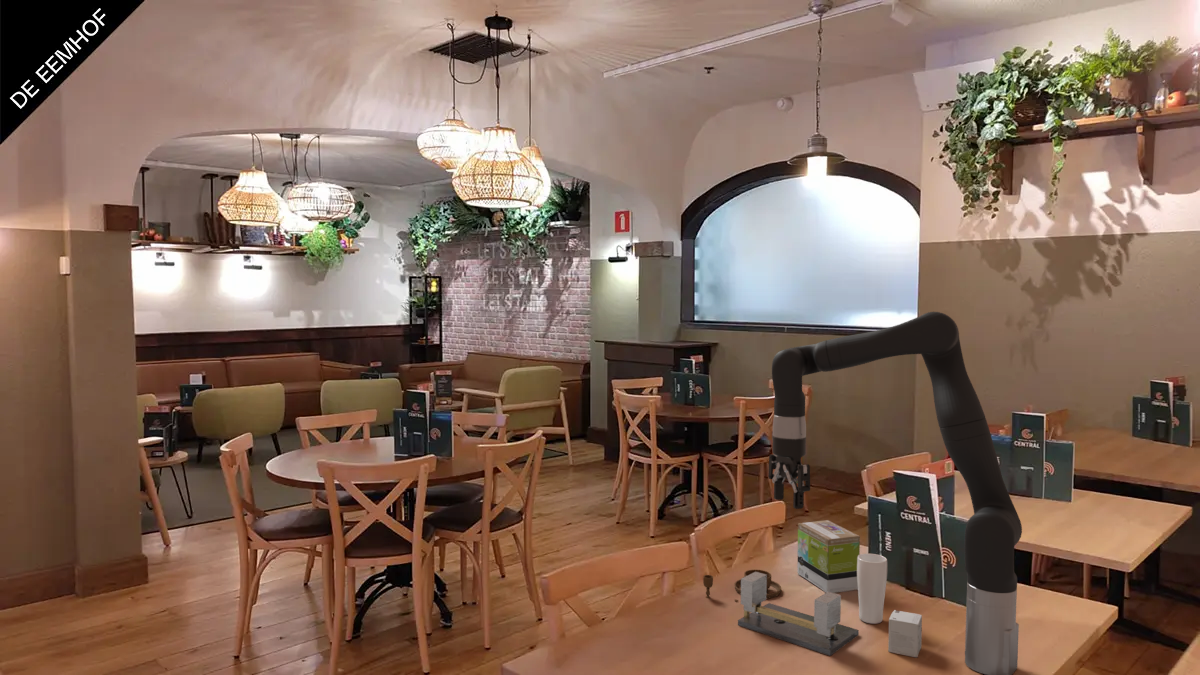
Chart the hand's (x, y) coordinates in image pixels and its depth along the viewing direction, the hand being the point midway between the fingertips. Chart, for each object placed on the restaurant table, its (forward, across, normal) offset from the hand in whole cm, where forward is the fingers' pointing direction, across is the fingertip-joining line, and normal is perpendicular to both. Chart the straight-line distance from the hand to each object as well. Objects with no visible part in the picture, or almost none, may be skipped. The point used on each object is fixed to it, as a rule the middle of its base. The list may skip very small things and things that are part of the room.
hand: (788, 503), depth 184 cm
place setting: (+29, +22, 0) cm, 37 cm away
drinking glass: (+29, -4, -20) cm, 35 cm away
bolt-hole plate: (+28, -4, 0) cm, 29 cm away
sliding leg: (+27, +2, +7) cm, 28 cm away
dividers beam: (+27, -5, +3) cm, 28 cm away
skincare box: (+29, -20, -17) cm, 39 cm away
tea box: (+29, +20, -25) cm, 43 cm away
